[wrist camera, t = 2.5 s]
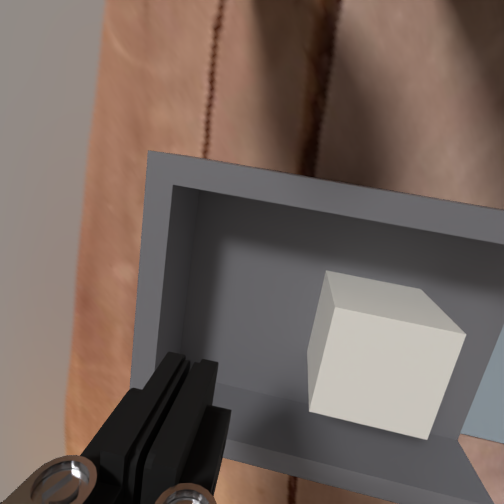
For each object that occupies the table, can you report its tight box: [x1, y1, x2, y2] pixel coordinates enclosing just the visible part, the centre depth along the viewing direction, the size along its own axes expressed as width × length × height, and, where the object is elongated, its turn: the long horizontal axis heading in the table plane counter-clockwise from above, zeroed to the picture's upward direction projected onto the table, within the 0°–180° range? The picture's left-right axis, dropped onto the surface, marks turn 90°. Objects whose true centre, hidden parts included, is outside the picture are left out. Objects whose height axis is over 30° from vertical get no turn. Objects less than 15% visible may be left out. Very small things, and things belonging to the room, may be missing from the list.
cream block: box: [307, 270, 466, 440], centre depth 16 cm, size 5×5×5 cm
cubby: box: [130, 150, 504, 504], centre depth 16 cm, size 25×14×4 cm, turn 81°
